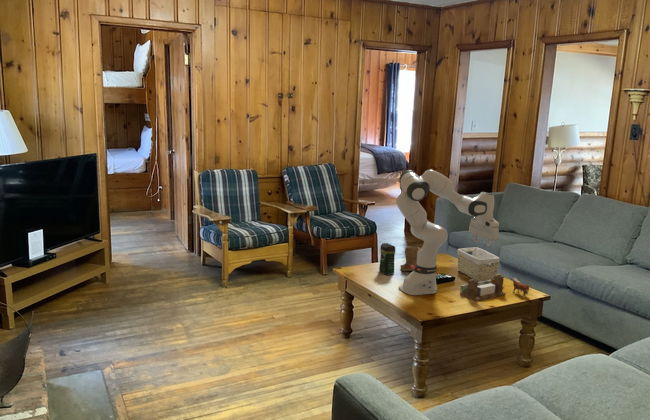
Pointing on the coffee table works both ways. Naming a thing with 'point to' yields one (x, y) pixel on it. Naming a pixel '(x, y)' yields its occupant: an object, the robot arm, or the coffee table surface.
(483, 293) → the rail bar
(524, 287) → the bull figurine
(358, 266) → the coffee table surface
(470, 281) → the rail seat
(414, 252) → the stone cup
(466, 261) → the storage basket
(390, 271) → the coffee jar
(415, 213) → the robot arm
